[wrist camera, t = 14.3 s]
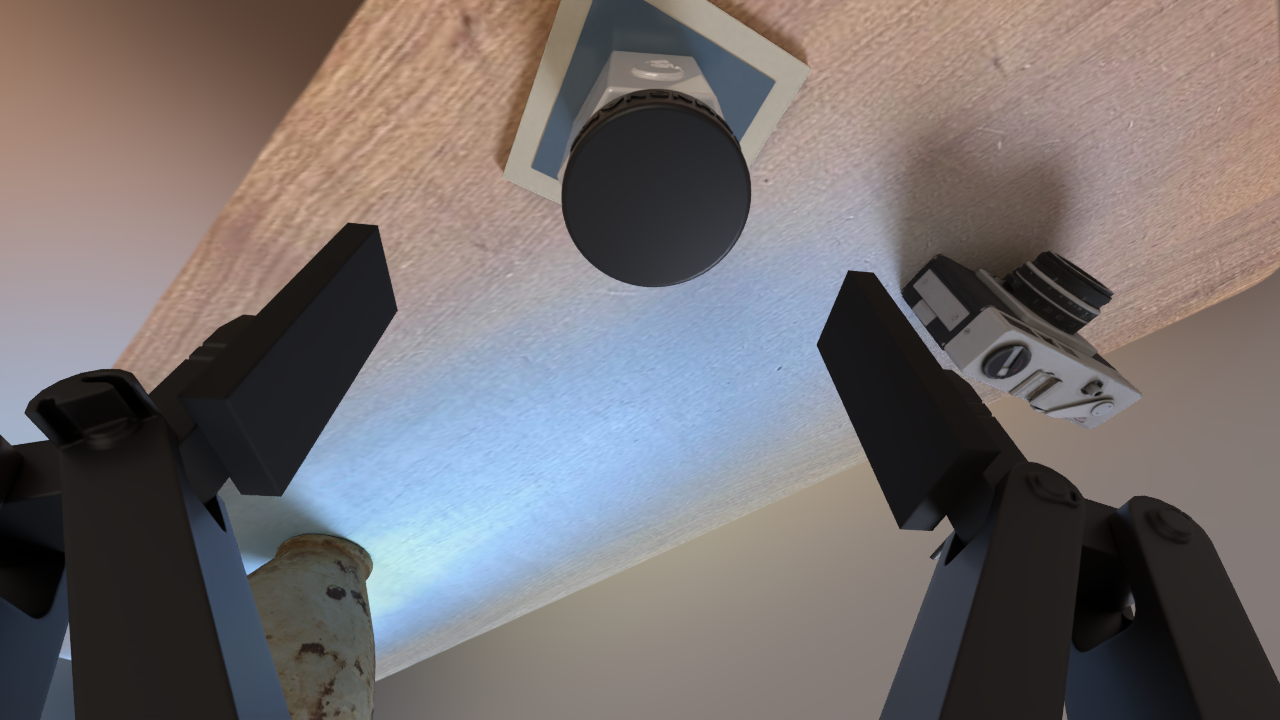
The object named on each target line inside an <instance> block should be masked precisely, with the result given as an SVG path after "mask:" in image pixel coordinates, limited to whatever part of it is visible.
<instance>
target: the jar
mask: <svg viewBox="0 0 1280 720" xmlns="http://www.w3.org/2000/svg"><path fill="white" fill-rule="evenodd" d="M741 149H742V148H741V146H740V144H739V141H738V140H737V138H736V136H733V131H732V130H731V128H730V127H729V125H728V124H727V123H726V122H725V119H724V116H723V114H722V111H721V108H720V105H719V102H718V99H717V97H716V95H715V93H714V92H713V90H712V88H711V86H710V85H709V83H708V81H707V79H706V78H705V76H704V74H703V72H702V71H701V69H700V67H699V65H698V64H697V62H696V60H695V59H694V58H693V57H689V56H676V55H663V54H650V53H638V52H625V51H613V52H612V53H611V55H610V57H609V58H608V60H607V62H606V64H605V66H604V67H603V69H602V71H601V73H600V75H599V77H598V78H597V80H596V82H595V84H594V86H593V87H592V89H591V91H590V93H589V95H588V96H587V98H586V100H585V102H584V104H583V106H582V107H581V109H580V111H579V113H578V115H577V116H576V118H575V120H574V122H573V126H572V129H571V132H570V136H569V139H568V142H567V146H566V149H565V152H564V155H563V159H562V162H561V165H560V169H559V172H558V176H557V178H558V181H559V182H560V184H561V186H562V191H561V202H562V211H563V216H564V220H565V224H566V227H567V229H568V232H569V234H570V236H571V238H572V240H573V242H574V244H575V245H576V247H577V248H578V250H579V251H580V252H581V253H582V255H583V256H584V257H585V258H586V259H587V260H588V261H589V262H590V263H591V264H592V265H593V266H595V267H596V268H597V269H599V270H600V271H601V272H603V273H605V274H606V275H608V276H610V277H612V278H614V279H616V280H619V281H621V282H624V283H628V284H631V285H636V286H643V287H665V286H671V285H676V284H680V283H683V282H686V281H689V280H692V279H694V278H696V277H698V276H700V275H702V274H704V273H705V272H707V271H708V270H710V269H711V268H713V267H714V266H715V265H716V264H718V263H719V262H720V261H721V260H722V259H723V258H724V257H725V256H726V255H727V254H728V253H729V252H730V250H731V249H732V248H733V246H734V245H735V244H736V242H737V240H738V239H739V237H740V235H741V233H742V231H743V229H744V226H745V224H746V221H747V218H748V214H749V209H750V203H751V180H750V174H749V170H748V166H747V163H746V160H745V158H744V155H743V153H742V151H741Z"/></svg>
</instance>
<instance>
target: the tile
mask: <svg viewBox="0 0 1280 720" xmlns="http://www.w3.org/2000/svg"><path fill="white" fill-rule="evenodd" d="M613 51H625V52H638V53H650V54H663V55H676V56H689V57H693V58H694V59H695V60H696V62H697V64H698V65H699V67H700V69H701V71H702V72H703V74H704V76H705V78H706V79H707V81H708V83H709V85H710V86H711V88H712V90H713V92H714V93H715V95H716V97H717V99H718V102H719V105H720V108H721V111H722V114H723V116H724V119H725V122H726V123H727V124H728V125H729V127H730V128H731V130H732V131H733V136H736V138H737V140H738V141H739V144H740V146H741V148H742V149H741V151H742V153H743V155H744V158H745V160H746V163H747V166H748V169H749V168H750V166H751V165H752V163H753V161H754V160H755V158H756V157H757V155H758V154H759V152H760V150H761V149H762V147H763V146H764V144H765V142H766V141H767V139H768V138H769V136H770V135H771V133H772V131H773V130H774V128H775V127H776V125H777V124H778V122H779V120H780V119H781V117H782V116H783V114H784V113H785V111H786V109H787V108H788V106H789V105H790V103H791V101H792V100H793V98H794V97H795V95H796V94H797V92H798V90H799V89H800V87H801V86H802V84H803V83H804V81H805V79H806V78H807V76H808V75H809V73H810V71H811V70H812V68H811V67H810V66H808V65H807V64H805V63H803V62H802V61H800V60H799V59H797V58H796V57H794V56H793V55H791V54H790V53H788V52H786V51H785V50H783V49H782V48H780V47H779V46H777V45H776V44H774V43H773V42H771V41H770V40H768V39H766V38H765V37H763V36H762V35H760V34H759V33H757V32H756V31H754V30H753V29H751V28H749V27H748V26H746V25H745V24H743V23H742V22H740V21H739V20H737V19H736V18H734V17H732V16H731V15H729V14H728V13H726V12H725V11H723V10H722V9H720V8H719V7H717V6H715V5H714V4H712V3H711V2H709V1H708V0H561V2H560V5H559V8H558V11H557V14H556V17H555V20H554V23H553V26H552V29H551V32H550V35H549V38H548V41H547V44H546V47H545V50H544V53H543V56H542V59H541V62H540V65H539V68H538V71H537V74H536V77H535V80H534V83H533V86H532V89H531V92H530V95H529V98H528V101H527V104H526V107H525V110H524V113H523V116H522V118H521V121H520V124H519V127H518V130H517V133H516V136H515V139H514V142H513V145H512V148H511V151H510V154H509V157H508V160H507V163H506V166H505V169H504V172H503V175H502V178H503V179H506V180H508V181H510V182H512V183H514V184H516V185H519V186H521V187H523V188H525V189H527V190H529V191H532V192H534V193H536V194H538V195H540V196H543V197H545V198H547V199H549V200H551V201H553V202H556V203H558V204H560V205H562V202H561V191H562V186H561V184H560V182H559V181H558V178H557V176H558V172H559V169H560V165H561V162H562V159H563V155H564V152H565V149H566V146H567V142H568V139H569V136H570V132H571V129H572V126H573V122H574V120H575V118H576V116H577V115H578V113H579V111H580V109H581V107H582V106H583V104H584V102H585V100H586V98H587V96H588V95H589V93H590V91H591V89H592V87H593V86H594V84H595V82H596V80H597V78H598V77H599V75H600V73H601V71H602V69H603V67H604V66H605V64H606V62H607V60H608V58H609V57H610V55H611V53H612V52H613Z"/></svg>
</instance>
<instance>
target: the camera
mask: <svg viewBox="0 0 1280 720" xmlns="http://www.w3.org/2000/svg"><path fill="white" fill-rule="evenodd" d="M1013 273H1014V274H1007V275H1006V276H1005V277H1004V278H1005V280H1006V281H1003V280H1001V279H999V278H998V277H996V276H995V275H994V274H990V273H988V272H986V271H984V270H983V269H980V270H978V271H977V272H976V273H975V272H973V271H971V270H969V269H968V268H966V267H964V266H962V265H960V264H958V263H956V262H954V261H953V260H951V259H949V258H947V257H945V256H943V255H941V254H938V255H937V256H935V257H934V258H933V259H932V260H931V261H930V262H929V263H928V264H927V265H926V266H925V267H924V268H923V269H922V270H921V271H920V272H919V273H918V274H917V275H916V276H915V277H914V278H913V280H912V281H911V282H910V283H909V284H908V285H907V286H906V287H905V288H904V289H903V290H902V291H901V294H902V295H903V296H902V297H903V298H904V300H905V301H906V302H907V304H908V305H909V306H910V308H911V309H912V310H913V312H914V313H915V314H916V316H917V317H918V318H919V320H920V321H921V322H922V324H923V325H924V326H925V328H926V329H927V330H928V332H929V333H930V334H931V336H932V337H933V338H934V340H935V341H936V342H937V344H938V345H939V346H940V348H941V349H942V350H944V351H945V352H946V353H947V354H948V355H949V357H950V358H951V359H952V361H953V362H954V363H955V365H956V366H957V367H958V368H959V370H960V371H961V372H962V373H964V374H966V375H968V376H971V377H973V378H975V379H977V380H979V381H982V382H984V383H986V384H988V385H990V386H992V387H995V388H997V389H999V390H1001V391H1003V392H1009V393H1010V394H1011V395H1012V396H1017V397H1020V398H1022V399H1024V400H1026V401H1028V402H1029V403H1030V406H1031V407H1032V408H1033V409H1034V410H1035V411H1038V412H1042V413H1044V414H1045V415H1047V416H1050V417H1053V418H1055V417H1061V418H1064V419H1066V420H1068V421H1071V422H1073V423H1075V424H1077V425H1080V426H1082V427H1084V428H1087V429H1089V428H1090V429H1091V428H1095V427H1097V426H1098V425H1100V424H1102V423H1103V422H1105V421H1106V420H1108V419H1109V418H1111V417H1112V416H1114V415H1116V414H1117V413H1119V412H1120V411H1122V410H1124V409H1125V408H1127V407H1128V406H1129V405H1131V404H1133V403H1134V402H1136V401H1138V400H1139V399H1141V398H1142V393H1141V392H1140V391H1139V390H1138V389H1137V388H1135V387H1134V386H1133V385H1132V384H1131V383H1130V382H1129V381H1128V380H1127V379H1125V378H1124V377H1123V376H1122V375H1121V374H1120V373H1119V372H1118V371H1117V370H1116V369H1115V368H1113V367H1112V366H1111V365H1110V364H1109V363H1108V362H1107V361H1106V360H1104V359H1103V358H1102V357H1101V356H1100V355H1099V354H1098V353H1097V352H1098V351H1097V350H1096V349H1095V348H1094V347H1093V346H1092V345H1091V344H1090V343H1088V342H1087V341H1086V340H1085V339H1084V338H1083V337H1082V336H1081V335H1079V334H1078V333H1077V331H1078V330H1080V329H1081V328H1082V327H1084V326H1085V325H1086V324H1088V323H1089V322H1090V321H1091V320H1093V319H1094V318H1095V317H1097V316H1098V315H1099V314H1100V313H1101V312H1100V309H1099V308H1100V307H1101V306H1103V305H1105V304H1107V303H1109V302H1110V300H1111V299H1112V298H1111V297H1110V296H1112V295H1113V294H1114V293H1113V292H1112V291H1111V290H1109V289H1108V288H1107V287H1106V286H1104V285H1103V284H1102V283H1100V282H1099V281H1098V280H1096V279H1095V278H1093V277H1092V276H1091V275H1089V274H1088V273H1086V272H1085V271H1083V270H1082V269H1080V268H1079V267H1077V266H1076V265H1074V264H1073V263H1071V262H1070V261H1068V260H1067V259H1065V258H1063V257H1062V256H1060V255H1059V254H1057V253H1055V252H1053V251H1051V250H1049V251H1048V252H1047V253H1046V252H1042V253H1041V254H1040V255H1039V256H1038V257H1037V259H1036V260H1035V261H1034V262H1032V261H1027V262H1026V263H1025V264H1022V265H1020V266H1019V268H1017V269H1016V270H1015V271H1013Z"/></svg>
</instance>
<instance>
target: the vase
mask: <svg viewBox="0 0 1280 720" xmlns="http://www.w3.org/2000/svg"><path fill="white" fill-rule="evenodd" d="M372 569H373V562H372V560H371V557H370V556H369V554H368V553H367V552H366V551H365V550H364V549H362V548H360V547H359V546H357V545H355V544H353V543H351V542H349V541H346V540H343V539H340V538H336V537H332V536H328V535H320V534H303V535H300V536H296V537H292V538H290V539H288V540H286V541H285V542H284V543H282V544H281V545H280V547H279V549H278V550H277V553H276V558H274V559H272V560H271V561H269V562H268V563H266V564H264V565H263V566H261V567H260V568H258V569H257V570H255V571H253V572H252V573H250V574H249V575H247V578H248V581H249V585H250V588H251V591H252V594H253V598H254V601H255V604H256V607H257V610H258V614H259V617H260V620H261V623H262V627H263V630H264V633H265V636H266V639H267V643H268V646H269V649H270V652H271V655H272V659H273V662H274V665H275V668H276V672H277V675H278V678H279V681H280V684H281V688H282V691H283V694H284V697H285V700H286V704H287V707H288V710H289V713H290V717H291V720H373V712H374V709H373V704H374V690H375V666H376V665H375V643H374V634H373V627H372V620H371V613H370V607H369V601H368V594H367V588H366V580H367V579H368V577H369V575H370V574H371V572H372Z"/></svg>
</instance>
